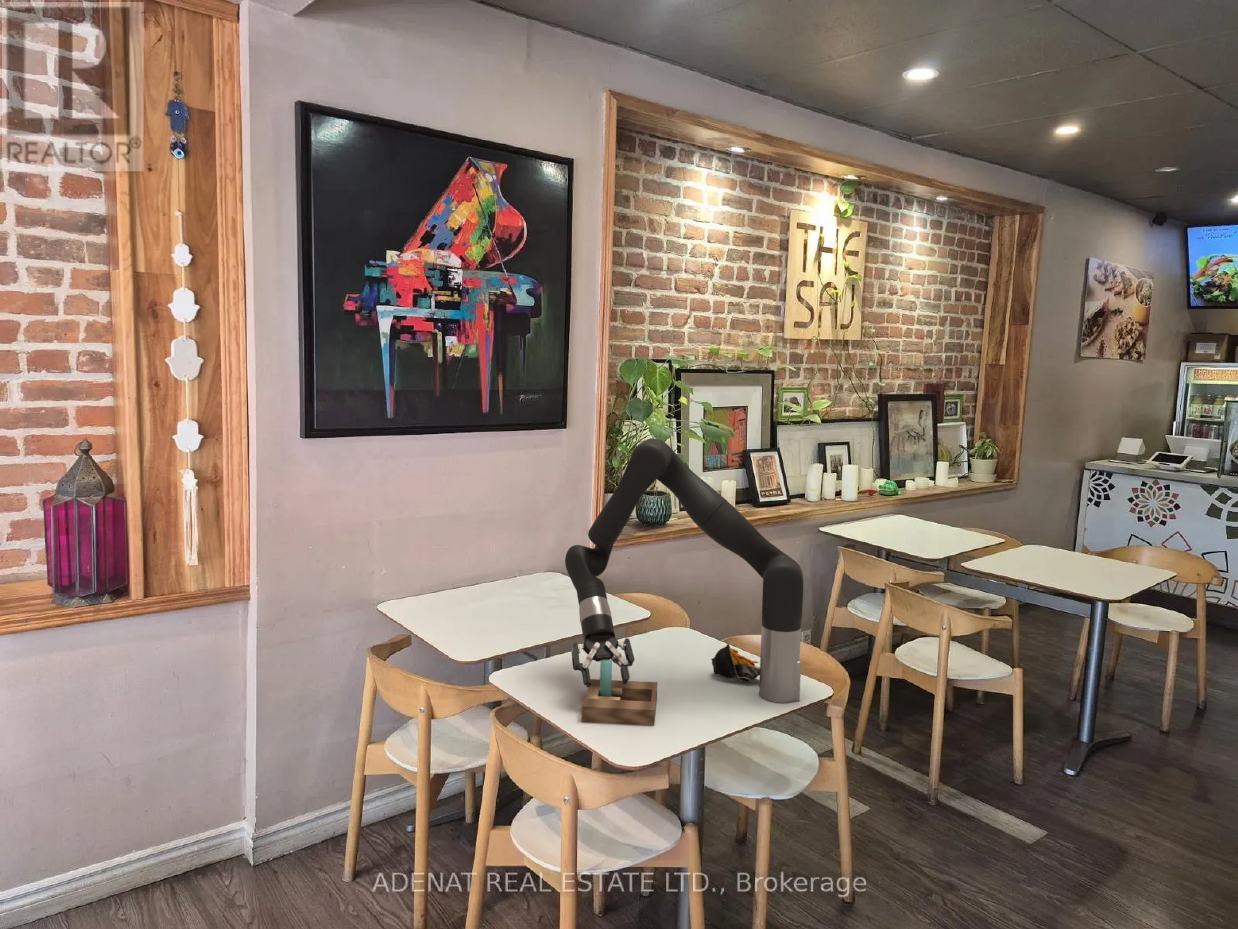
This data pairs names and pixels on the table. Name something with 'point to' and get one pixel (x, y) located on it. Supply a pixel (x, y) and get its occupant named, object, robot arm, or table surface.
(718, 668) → the black fries container
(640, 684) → the keyhole plate
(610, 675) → the peg
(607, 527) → the robot arm
